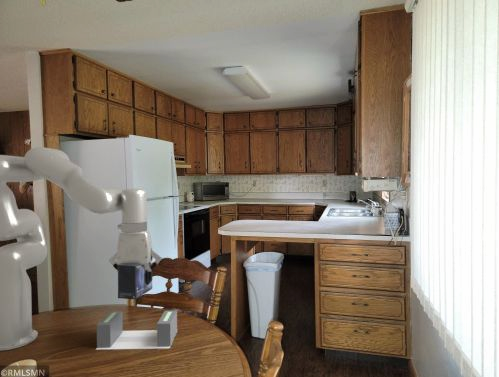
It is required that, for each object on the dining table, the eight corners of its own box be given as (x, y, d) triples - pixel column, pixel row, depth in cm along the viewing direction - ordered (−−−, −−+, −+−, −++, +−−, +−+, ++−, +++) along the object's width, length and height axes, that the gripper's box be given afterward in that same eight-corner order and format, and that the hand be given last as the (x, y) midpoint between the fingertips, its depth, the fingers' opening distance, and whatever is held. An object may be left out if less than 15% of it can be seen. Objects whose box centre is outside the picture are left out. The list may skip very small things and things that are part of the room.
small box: (136, 300, 97) (135, 265, 96) (117, 299, 98) (116, 264, 98) (153, 288, 107) (153, 257, 107) (135, 287, 108) (135, 256, 108)
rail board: (95, 354, 96) (95, 349, 96) (111, 335, 108) (111, 331, 108) (169, 353, 97) (169, 348, 97) (177, 334, 109) (177, 329, 109)
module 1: (97, 347, 97) (96, 324, 97) (110, 332, 107) (110, 311, 107) (110, 347, 97) (110, 324, 97) (122, 332, 107) (122, 310, 107)
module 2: (157, 346, 98) (156, 323, 98) (165, 331, 108) (164, 310, 108) (170, 346, 98) (170, 323, 98) (177, 331, 108) (176, 310, 108)
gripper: (101, 230, 98) (103, 288, 98) (159, 229, 99) (160, 286, 99) (111, 226, 106) (113, 280, 106) (165, 225, 106) (166, 279, 106)
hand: (136, 283), depth 102 cm, fingers closed on small box, 7 cm apart
